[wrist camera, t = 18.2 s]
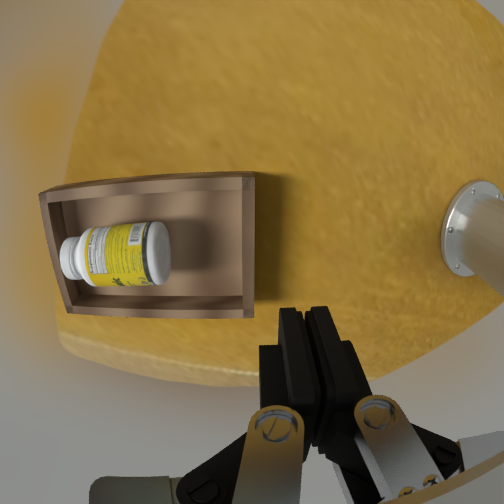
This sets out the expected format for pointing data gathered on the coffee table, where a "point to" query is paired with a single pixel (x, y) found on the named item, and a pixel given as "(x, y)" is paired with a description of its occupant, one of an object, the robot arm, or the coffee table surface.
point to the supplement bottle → (119, 255)
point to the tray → (181, 242)
